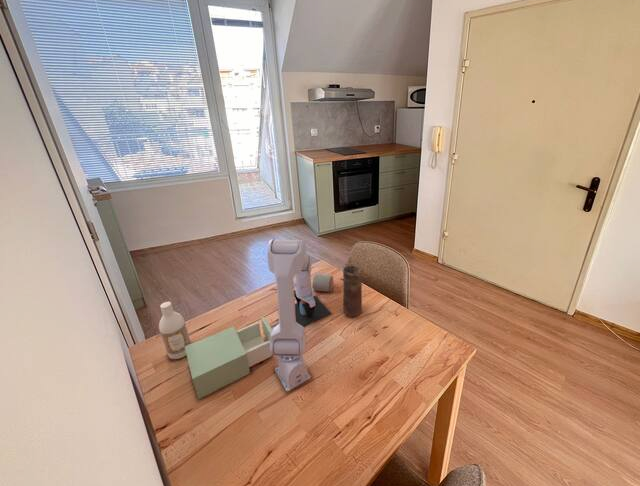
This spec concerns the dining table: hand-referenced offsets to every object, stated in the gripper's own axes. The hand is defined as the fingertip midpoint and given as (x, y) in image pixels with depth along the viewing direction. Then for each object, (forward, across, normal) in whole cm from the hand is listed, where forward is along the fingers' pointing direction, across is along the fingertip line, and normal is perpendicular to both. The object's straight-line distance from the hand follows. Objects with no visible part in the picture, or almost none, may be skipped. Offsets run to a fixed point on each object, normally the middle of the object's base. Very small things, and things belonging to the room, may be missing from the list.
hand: (305, 310), depth 117 cm
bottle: (0, 0, 0) cm, 0 cm away
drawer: (0, -8, +21) cm, 22 cm away
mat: (+1, 0, 0) cm, 1 cm away
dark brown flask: (+1, -10, -16) cm, 19 cm away
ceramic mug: (+1, +10, -14) cm, 17 cm away
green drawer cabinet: (+1, -8, +34) cm, 35 cm away
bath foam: (+1, +7, +43) cm, 44 cm away
